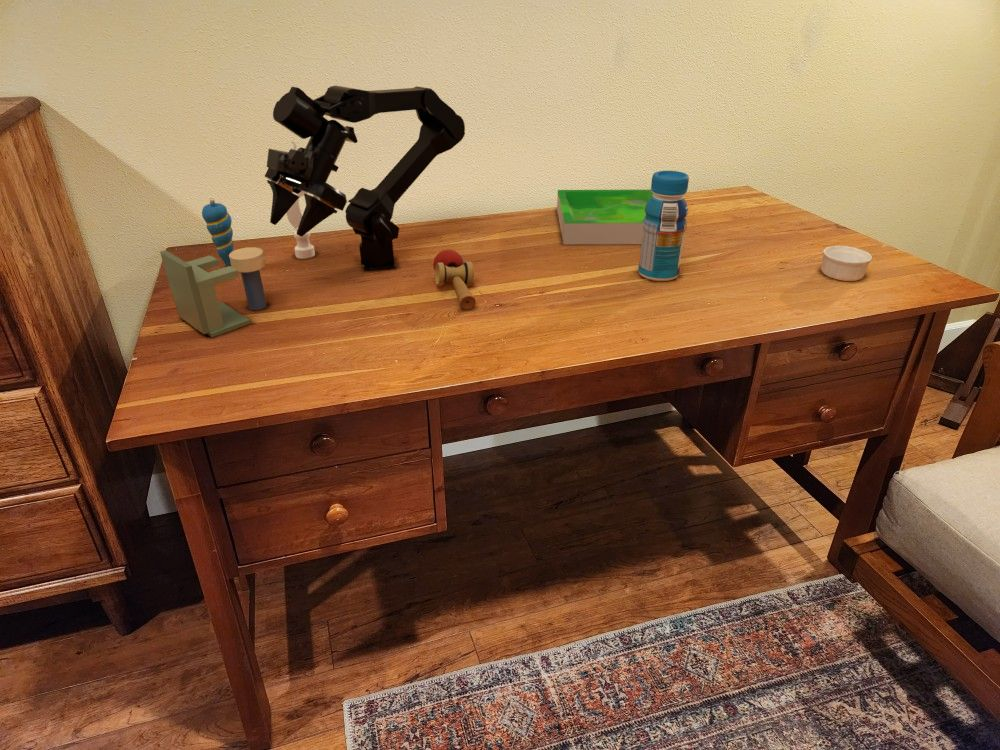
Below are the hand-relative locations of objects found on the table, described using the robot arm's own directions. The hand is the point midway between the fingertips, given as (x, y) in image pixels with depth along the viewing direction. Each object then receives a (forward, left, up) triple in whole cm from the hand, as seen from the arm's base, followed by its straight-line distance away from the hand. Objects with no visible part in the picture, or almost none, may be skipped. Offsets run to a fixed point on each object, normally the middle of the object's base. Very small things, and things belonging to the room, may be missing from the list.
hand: (285, 229), depth 123 cm
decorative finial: (-1, -20, -13) cm, 24 cm away
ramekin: (-107, +15, -13) cm, 109 cm away
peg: (+7, +5, -13) cm, 15 cm away
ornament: (+15, -16, -13) cm, 25 cm away
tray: (-72, -23, -13) cm, 77 cm away
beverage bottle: (-71, +7, -13) cm, 73 cm away
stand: (+14, +9, -13) cm, 21 cm away
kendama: (-30, +6, -13) cm, 34 cm away
